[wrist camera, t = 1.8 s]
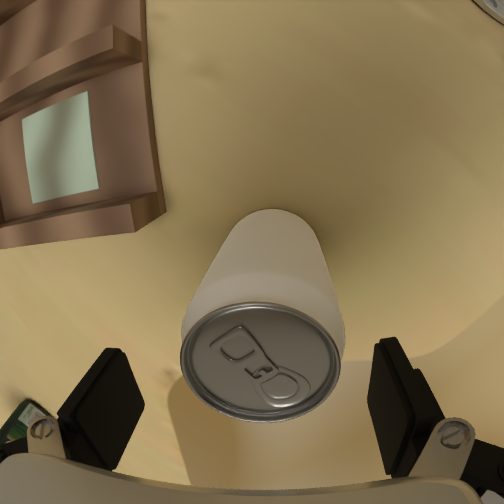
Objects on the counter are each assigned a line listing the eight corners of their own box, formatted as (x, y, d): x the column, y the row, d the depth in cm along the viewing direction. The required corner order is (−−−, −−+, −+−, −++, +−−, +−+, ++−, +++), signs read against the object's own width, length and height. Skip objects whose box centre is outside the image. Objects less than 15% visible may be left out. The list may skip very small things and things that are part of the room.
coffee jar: (53, 442, 36) (6, 520, 19) (17, 410, 35) (-38, 483, 17) (70, 429, 33) (13, 523, 16) (27, 391, 32) (-40, 479, 14)
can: (266, 312, 23) (249, 446, 12) (206, 247, 22) (134, 352, 11) (338, 260, 21) (384, 380, 10) (279, 186, 20) (273, 247, 9)
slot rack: (145, -57, 14) (119, -86, 9) (166, 211, 21) (135, 232, 16) (-6, 25, 16) (-39, 19, 11) (7, 236, 23) (-28, 253, 19)
